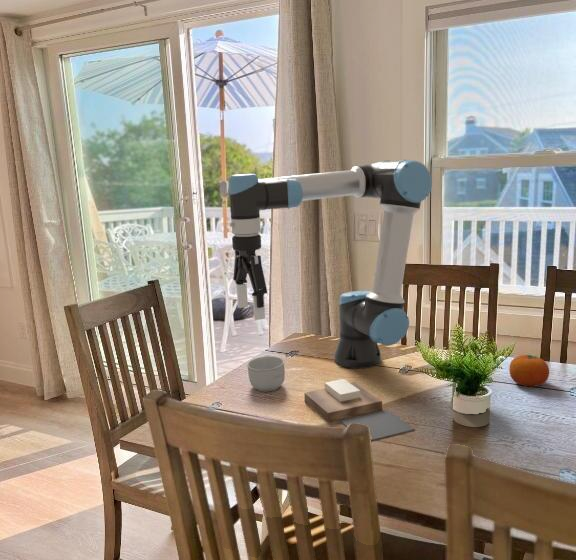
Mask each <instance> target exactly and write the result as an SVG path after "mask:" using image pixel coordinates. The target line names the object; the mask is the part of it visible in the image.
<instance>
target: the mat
mask: <svg viewBox="0 0 576 560" xmlns="http://www.w3.org/2000/svg"><path fill="white" fill-rule="evenodd" d="M339 421H340V423H342V424H343V425H344V426H345V427H346V426H347V425H349V424H350V423H360V424H364V425H367V426H368V427H369V428H370V435H371V437H372V439H371V441H370V442H373V441H375V440H376V441H377V440H380V439H383V438H388V437H393V436H397V435H401V434H405V433H408V432H412V431H415V430H416V429H415V428H414V427H413V426H412V425H410V424H409V423H407V422H406V421H404V419H402V418H400V417H399V416H397V415H396V414H394V413H393V412H392V411H391V410H389V409H382V410H379V411H375V412H370V413H366V414H362V415H357V416H353V417H349V418H344V419H340V420H339Z"/></svg>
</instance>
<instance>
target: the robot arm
mask: <svg viewBox="0 0 576 560" xmlns="http://www.w3.org/2000/svg"><path fill="white" fill-rule="evenodd" d="M432 183H433V181H432V175H431V173H430V171H429V169H428V168H427V166H426V165H424V164H423V163H422V162H420V161H418V160H410V159H399V160H381V161H376V162H374V163H369V164H365V165H356V166H353V167H352V168H351V169H349V170H339V171H328V172H327V171H326V172H318V173H309V174H300V175H299V174H297V175H290V176H279V177H268V178H259V177H258V175H257V174H255V173H243V174H240V173H239V174H232V175H230V176H229V178H228V198H229V199H228V200H229V211H230V222H229V223H228V224H229V227H231V233H232V237H231V239H232V242H231V243H232V244H231V245H232V250H233V251H234V255H235V256H234V257H235V259H234V268H233V278H232V279H233V281H234V282H235V284H236V298H237V308H238V309H242V308H248V307H249V305H248V304H249V302H248V287H247V285H248V284H247V283H248V280H247V276H248V277H249V281H250V283H251V287H252V291H253V292H252V293H251V296H252V299H253V300H252V303H253V304H252V305H253V316H254V317H253V318H254V319H253V320H254V321H258V320H265V319H266V312H265V311H266V309H265V308H266V307H265V306H266V305H265V294H268V289H267V285H266V279H265V275H264V271H263V264H262V258H261V257H262V256H261V255H256V251H257V250H260V249H261V248H262V236H261V235H260V233H261V231H262V230H261V215H260V211H266V210H280V209H290V208H297V207H299V206H300V205H301V204H302V202H304V201H313V200H322V199H331V198H339V197H348V196H353V197H355V198H357V199H359V198H374V199H379V200H380V201H379V205H380V207H381V208H382V210H383V214H382V215H383V217H382V222H381V228H380V229H381V230H380V235H379V242H378V248H377V255H376V261H375V268H374V273H373V280H372V286H371V287H372V288H371V290H357V291H355V290H354V291H348V292H344V293H341V295H339V296H340V297H339V301H338V303H339V304H338V307H339V309H338V311H339V313H338V316H339V339H338V342H337V344H336V347H335V351H334V363H336V364H337V365H338V366H342V367H345V368H350V369H366V368H368V369H369V368H372V367H376V366H378V365H380V364H381V361H382V355H381V351H380V350H381V349H380V348H379V345H378V344H381V345H382V346H383V345H384V346H391V345H395V344H397V343H398V342H400V340H403V339H404V338H405V336H406V334H407V332H408V330H409V326H410V319H409V316H408V314H407V313H406V312H405V310H404V308H405V302H406V301H405V300H404V298H403V297H402V290H403V289H402V288H403V282H404V277H405V276H404V275H405V270H406V269H405V268H406V263H407V258H408V251H409V250H408V249H409V245H410V240H411V239H410V238H411V231H412V227H413V221H414V215H415V214H416V213H417V212H418V211H420V210H421V203H422V202H423V201H424V200H426V199H427V197H428V196H429V195H430V193H431V191H432V186H433V184H432Z"/></svg>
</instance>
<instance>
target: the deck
mask: <svg viewBox="0 0 576 560" xmlns="http://www.w3.org/2000/svg"><path fill="white" fill-rule="evenodd" d="M349 383H350V382H349ZM350 384H352V385H353V386H355V387H356V388H357V389H359V390H360V398H355V399H351V400H346V401H341V402H340V401H339V400H338V399H336V398H335V397H334V396H332V395H331V394H330V393H329V392H327V391H326V390H325V388H321V389H316V390H312V391H307V392H304V394H303V395H304V402H305V403H306V404H307V405H308V406H309V407H310V408H311V409H313V410H314V411H315V412H316V413H317V414H318V415H320V417H322V418H323V419H324V420H325V421H326V422H327V423H331V422H335V421H340V420H344V419H348V418H353V417H357V416H361V415H366V414H370V413H374V412H379V411H383V400H381V399H379V397H377V396H376V395H374V394H373V393H371V392H370V391H368V390H367V389H365V387H362V386H361V385H360V384H358V383H357V382H351V383H350Z"/></svg>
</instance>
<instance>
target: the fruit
mask: <svg viewBox="0 0 576 560" xmlns="http://www.w3.org/2000/svg"><path fill="white" fill-rule="evenodd" d="M508 371H509V375H510V377H511V379H512V380H513V381H514V382H515V383H516V384H519V385H522V386H525V387H538V386H540V385H542V384H544V383H546V382H547V381H548V379H549V376H550V367H549V366H548V364H547V362H546V361H545V360H543V359H542V358H540V357H539V356H537V355H532V354H524V355H523V354H522V355H517V356H516V357H514V358H513V359H512V360H511V362H510V363H509V370H508Z"/></svg>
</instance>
